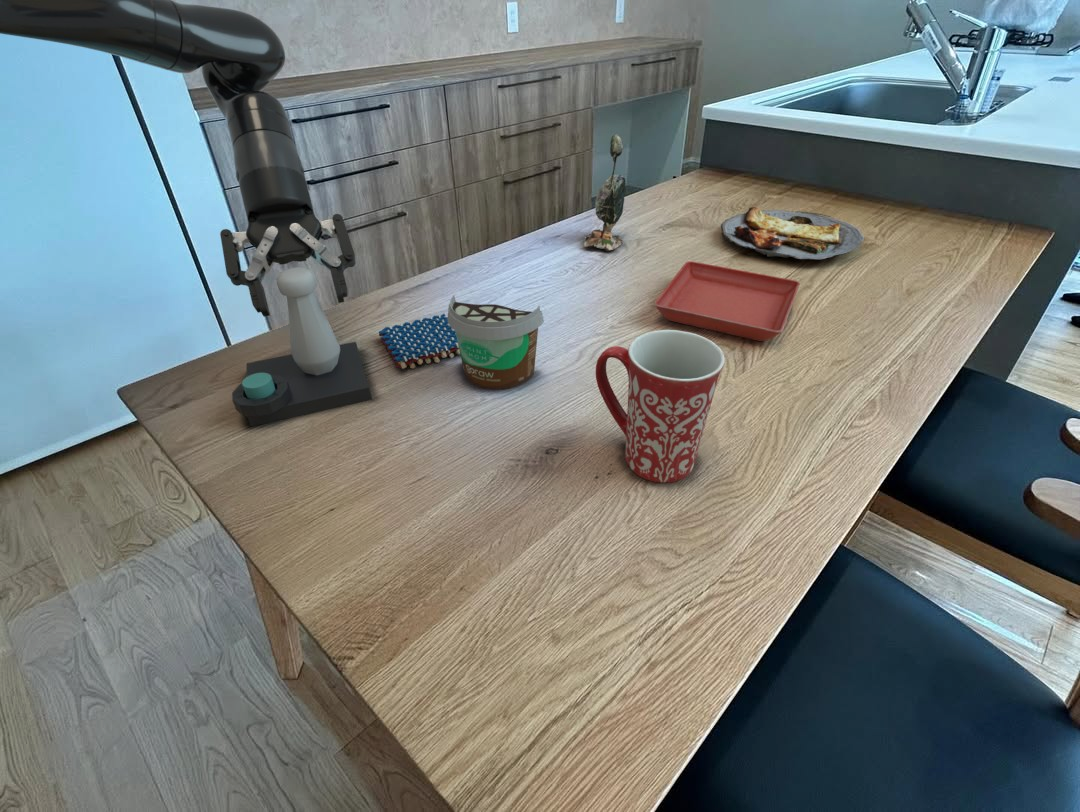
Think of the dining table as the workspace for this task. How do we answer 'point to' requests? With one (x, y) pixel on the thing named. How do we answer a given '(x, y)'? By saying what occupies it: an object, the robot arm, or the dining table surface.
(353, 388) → the scale
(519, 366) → the food container
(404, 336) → the woven mat
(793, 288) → the plant saucer
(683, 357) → the mug
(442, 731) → the dining table surface
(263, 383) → the button
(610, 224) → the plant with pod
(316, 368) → the salt shaker
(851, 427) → the dining table surface
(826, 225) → the food plate
